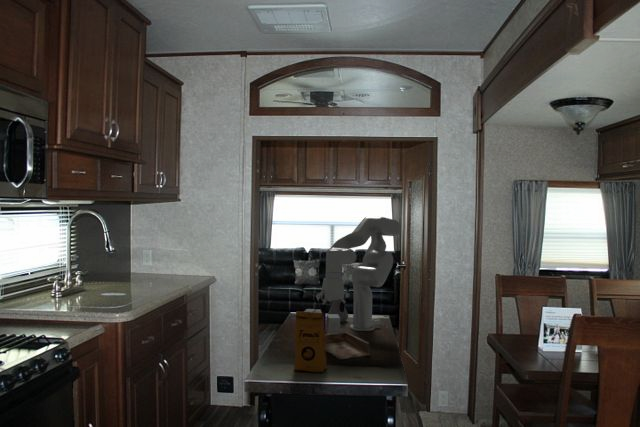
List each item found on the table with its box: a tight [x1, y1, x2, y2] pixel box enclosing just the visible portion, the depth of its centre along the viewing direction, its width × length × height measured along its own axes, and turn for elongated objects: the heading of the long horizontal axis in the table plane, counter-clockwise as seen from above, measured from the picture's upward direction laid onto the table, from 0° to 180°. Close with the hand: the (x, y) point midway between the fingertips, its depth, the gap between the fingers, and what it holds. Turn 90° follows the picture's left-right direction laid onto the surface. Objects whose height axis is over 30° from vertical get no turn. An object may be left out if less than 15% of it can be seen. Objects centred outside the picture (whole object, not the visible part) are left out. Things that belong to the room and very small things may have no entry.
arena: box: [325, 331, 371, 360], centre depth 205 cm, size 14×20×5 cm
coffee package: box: [293, 311, 328, 373], centre depth 181 cm, size 10×12×22 cm
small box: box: [326, 313, 341, 334], centre depth 225 cm, size 8×6×10 cm
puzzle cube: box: [303, 308, 327, 330], centre depth 237 cm, size 10×10×10 cm
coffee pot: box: [309, 291, 349, 323], centre depth 260 cm, size 21×12×15 cm, turn 76°
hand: (332, 312), depth 224 cm, fingers open, 9 cm apart
